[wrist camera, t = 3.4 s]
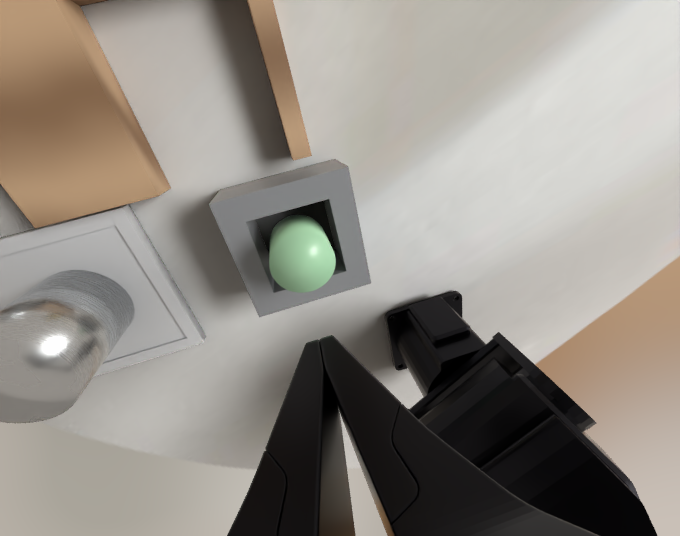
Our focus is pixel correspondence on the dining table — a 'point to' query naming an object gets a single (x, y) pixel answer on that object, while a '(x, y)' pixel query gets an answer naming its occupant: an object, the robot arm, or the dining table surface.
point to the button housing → (281, 195)
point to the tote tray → (115, 263)
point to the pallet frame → (91, 113)
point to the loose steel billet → (58, 342)
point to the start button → (300, 254)
